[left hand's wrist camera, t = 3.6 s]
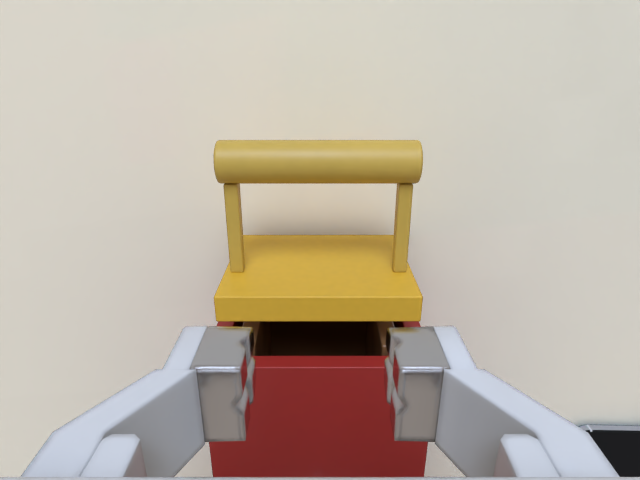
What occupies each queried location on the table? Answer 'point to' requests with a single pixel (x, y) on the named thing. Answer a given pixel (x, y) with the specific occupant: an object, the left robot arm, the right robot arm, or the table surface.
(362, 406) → the red open box
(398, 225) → the drawer
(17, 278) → the table surface
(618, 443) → the smartphone
